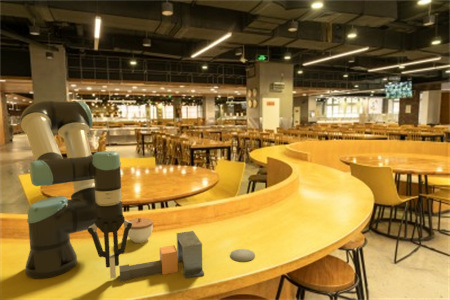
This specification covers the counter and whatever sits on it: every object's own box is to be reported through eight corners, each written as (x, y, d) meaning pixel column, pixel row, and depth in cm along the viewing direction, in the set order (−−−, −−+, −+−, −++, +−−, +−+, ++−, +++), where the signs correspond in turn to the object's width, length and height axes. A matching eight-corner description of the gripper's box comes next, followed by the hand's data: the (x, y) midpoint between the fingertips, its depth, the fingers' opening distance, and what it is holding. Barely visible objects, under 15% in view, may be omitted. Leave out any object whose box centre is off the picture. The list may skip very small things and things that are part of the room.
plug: (119, 274, 96) (118, 254, 96) (174, 264, 103) (174, 245, 102) (120, 282, 92) (119, 261, 91) (177, 271, 98) (177, 251, 97)
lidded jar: (155, 234, 129) (155, 213, 127) (150, 245, 118) (149, 222, 117) (130, 235, 128) (129, 214, 127) (123, 245, 118) (122, 223, 116)
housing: (176, 257, 108) (175, 231, 107) (192, 254, 110) (191, 228, 109) (185, 278, 94) (185, 249, 92) (204, 275, 96) (203, 246, 95)
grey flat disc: (226, 252, 111) (226, 251, 111) (248, 248, 115) (248, 247, 115) (236, 263, 103) (235, 262, 103) (259, 259, 106) (259, 257, 106)
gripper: (84, 208, 85) (89, 286, 87) (131, 203, 89) (135, 277, 91) (86, 201, 92) (91, 273, 94) (130, 197, 96) (134, 266, 98)
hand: (113, 275), depth 93 cm, fingers closed
